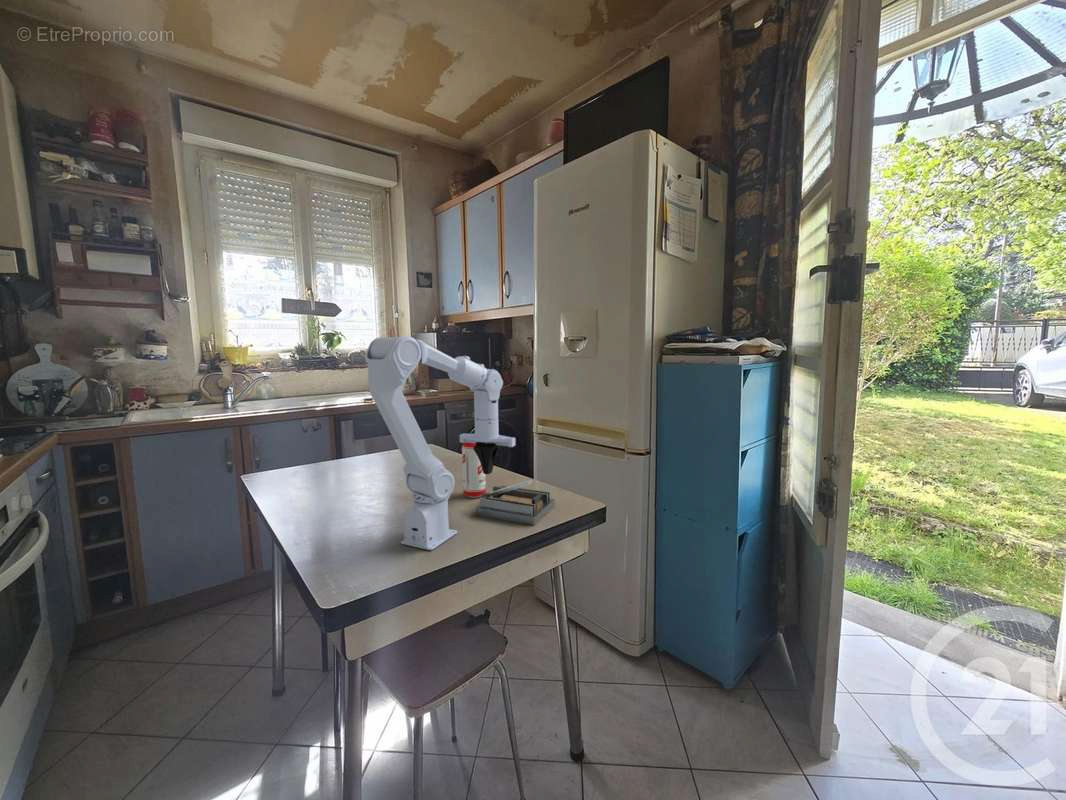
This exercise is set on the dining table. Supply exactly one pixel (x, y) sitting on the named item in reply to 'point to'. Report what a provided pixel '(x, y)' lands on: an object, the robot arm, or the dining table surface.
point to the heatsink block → (516, 505)
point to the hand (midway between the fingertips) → (487, 473)
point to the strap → (511, 487)
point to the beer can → (472, 472)
